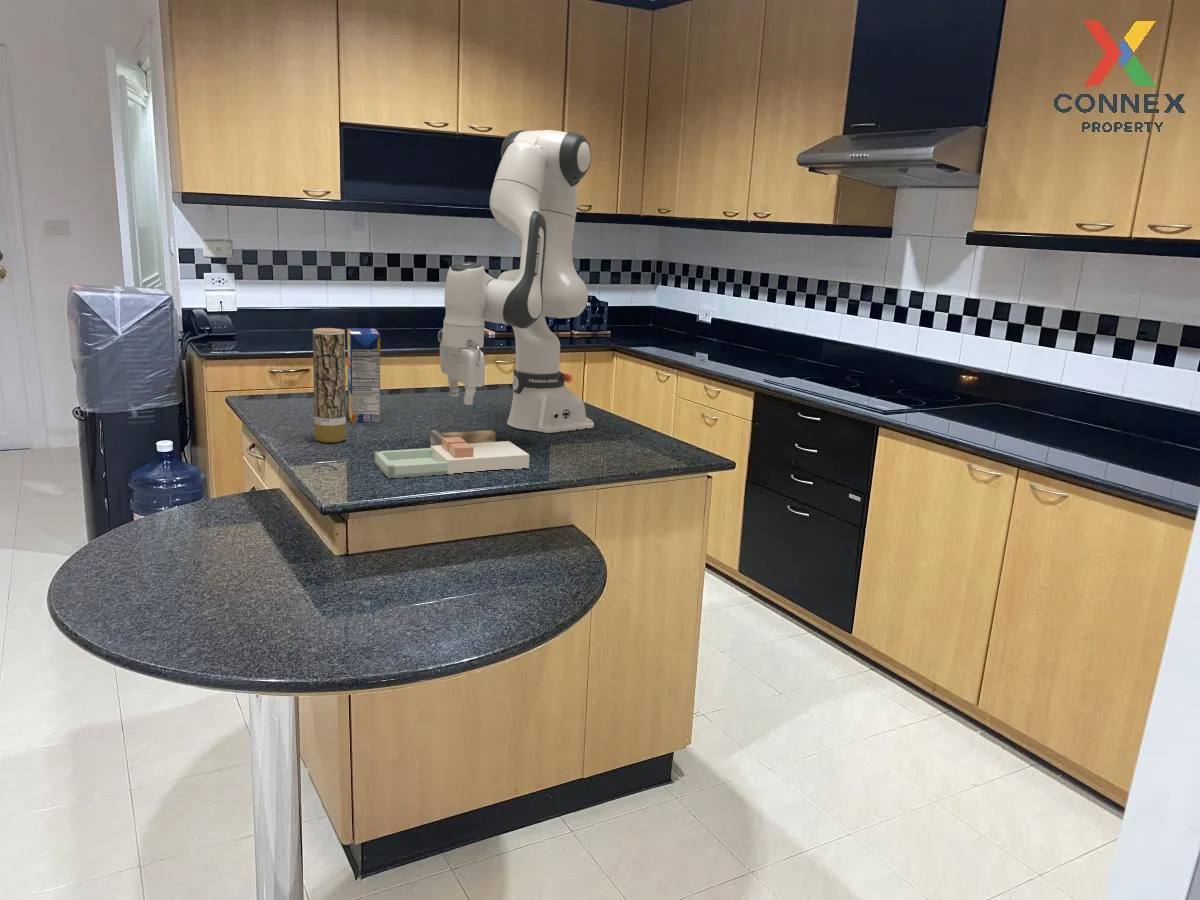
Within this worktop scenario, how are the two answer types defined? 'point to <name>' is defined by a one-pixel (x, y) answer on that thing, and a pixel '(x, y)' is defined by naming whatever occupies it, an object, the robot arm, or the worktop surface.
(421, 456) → the tray
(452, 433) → the scraper
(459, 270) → the robot arm
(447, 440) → the tile
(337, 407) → the paper tube
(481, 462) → the board
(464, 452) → the tile
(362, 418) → the beverage box
